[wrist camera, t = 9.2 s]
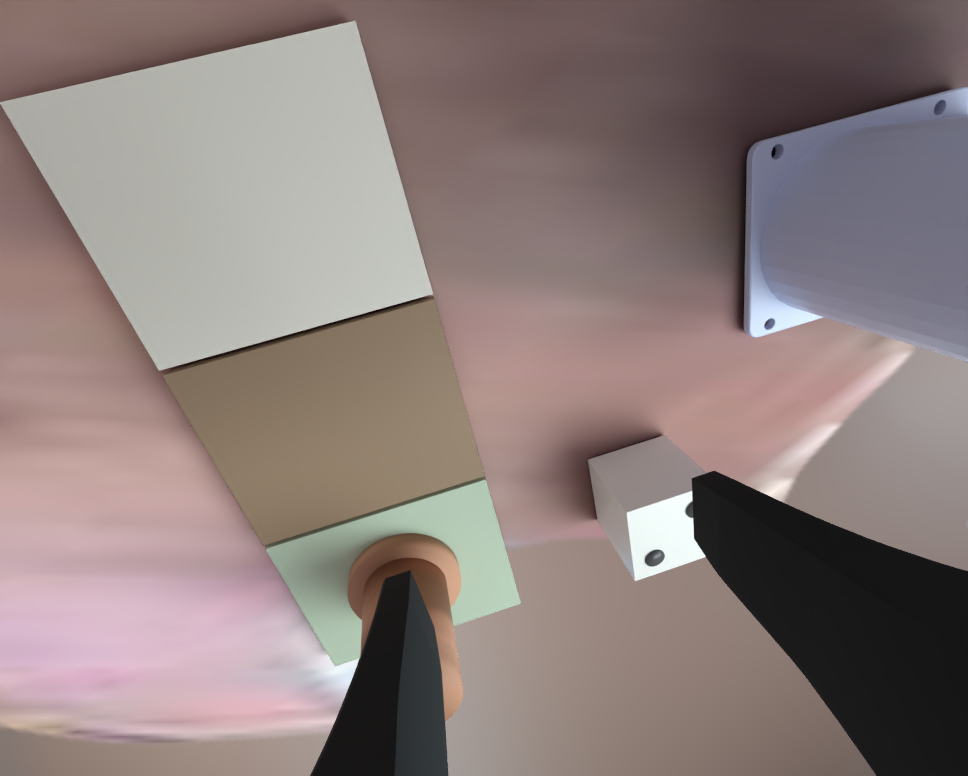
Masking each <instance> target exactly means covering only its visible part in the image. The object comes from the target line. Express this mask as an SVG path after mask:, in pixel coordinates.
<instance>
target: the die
mask: <svg viewBox="0 0 968 776" xmlns="http://www.w3.org/2000/svg"><path fill="white" fill-rule="evenodd" d="M588 464H589V471H590V477H591V483H592V489H593V495H594V501H595V507H596V514H597V520H598V523H599V524H600V526H601V528H602V529H603V531H604V532H605V534H606V536H607V537H608V539H609V540H610V542H611V544H612V545H613V547H614V548H615V550H616V551H617V553H618V554H619V556H620V558H621V559H622V561H623V563H624V564H625V566H626V567H627V569H628V570H629V572H630V574H631V575H632V577H633V578H634V580H635V581H637V580H640V579H643V578H646V577H648V576H651V575H654V574H657V573H660V572H663V571H666V570H668V569H672V568H674V567H677V566H680V565H683V564H686V563H689V562H692V561H695V560H698V559H701V558H704V557H706V556H705V555H704V553H703V552H702V550H701V549H700V547H699V546H698V544H697V543H696V541H695V540H694V526H693V500H692V478H694V477H697V476H700V475H703V474H706V472H705V471H704V470H703V469H702V468H700V467H699V466H698V465H697V464H696V463H695V462H694V461H693V460H692V459H691V458H689V457H688V456H687V455H686V454H685V453H684V452H683V451H682V450H681V449H679V448H678V447H677V446H676V445H675V444H674V443H673V442H672V441H671V440H670V439H668V438H667V437H666V436H665V435H663V436H660V437H657V438H654V439H651V440H648V441H645V442H641V443H638V444H635V445H632V446H629V447H626V448H623V449H620V450H616V451H613V452H610V453H607V454H604V455H601V456H598V457H595V458H591V459H588Z"/></svg>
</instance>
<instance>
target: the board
mask: <svg viewBox="0 0 968 776" xmlns="http://www.w3.org/2000/svg"><path fill="white" fill-rule="evenodd" d="M0 104H1V106H2V108H3V109H4V111H5V113H6V114H7V116H8V118H9V119H10V121H11V123H12V124H13V126H14V128H15V129H16V131H17V133H18V134H19V136H20V138H21V139H22V141H23V143H24V145H25V146H26V148H27V150H28V151H29V153H30V155H31V156H32V158H33V160H34V161H35V163H36V165H37V166H38V168H39V170H40V171H41V173H42V175H43V176H44V178H45V180H46V182H47V183H48V185H49V187H50V188H51V190H52V192H53V193H54V195H55V197H56V198H57V200H58V202H59V203H60V205H61V207H62V208H63V210H64V212H65V213H66V215H67V217H68V218H69V220H70V222H71V224H72V225H73V227H74V229H75V230H76V232H77V234H78V235H79V237H80V239H81V240H82V242H83V244H84V245H85V247H86V249H87V250H88V252H89V254H90V255H91V257H92V259H93V261H94V262H95V264H96V266H97V267H98V269H99V271H100V272H101V274H102V276H103V277H104V279H105V281H106V282H107V284H108V286H109V287H110V289H111V291H112V292H113V294H114V296H115V298H116V299H117V301H118V303H119V304H120V306H121V308H122V309H123V311H124V313H125V314H126V316H127V318H128V319H129V321H130V323H131V324H132V326H133V328H134V329H135V331H136V333H137V335H138V336H139V338H140V340H141V341H142V343H143V345H144V346H145V348H146V350H147V351H148V353H149V355H150V356H151V358H152V360H153V361H154V363H155V365H156V366H157V368H158V370H159V371H160V370H164V369H167V368H171V367H174V366H178V365H182V364H185V363H189V362H192V361H196V360H199V359H203V358H207V357H210V356H214V355H217V354H221V353H224V352H228V351H232V350H235V349H239V348H242V347H246V346H249V345H253V344H257V343H260V342H264V341H267V340H271V339H274V338H278V337H282V336H285V335H289V334H292V333H296V332H299V331H303V330H307V329H310V328H314V327H317V326H321V325H324V324H328V323H332V322H335V321H339V320H342V319H346V318H349V317H353V316H357V315H360V314H364V313H367V312H371V311H374V310H378V309H382V308H385V307H389V306H392V305H396V304H399V303H403V302H407V301H410V300H414V299H417V298H421V297H424V296H428V295H432V294H433V292H432V289H431V285H430V282H429V278H428V275H427V271H426V268H425V264H424V261H423V257H422V253H421V250H420V246H419V243H418V239H417V236H416V232H415V229H414V225H413V222H412V218H411V215H410V211H409V208H408V204H407V201H406V197H405V194H404V190H403V187H402V183H401V180H400V176H399V173H398V169H397V165H396V162H395V158H394V155H393V151H392V148H391V144H390V141H389V137H388V134H387V130H386V127H385V123H384V120H383V116H382V113H381V109H380V106H379V102H378V99H377V95H376V92H375V88H374V85H373V81H372V77H371V74H370V70H369V67H368V63H367V60H366V56H365V53H364V49H363V46H362V42H361V39H360V35H359V32H358V28H357V25H356V21H352V22H347V23H343V24H339V25H334V26H330V27H326V28H321V29H317V30H313V31H308V32H304V33H300V34H295V35H291V36H286V37H282V38H278V39H273V40H269V41H265V42H260V43H256V44H252V45H247V46H243V47H239V48H234V49H230V50H225V51H221V52H217V53H212V54H208V55H204V56H199V57H195V58H191V59H186V60H182V61H178V62H173V63H169V64H165V65H160V66H156V67H151V68H147V69H143V70H138V71H134V72H130V73H125V74H121V75H117V76H112V77H108V78H104V79H99V80H95V81H91V82H86V83H82V84H77V85H73V86H69V87H64V88H60V89H56V90H51V91H47V92H43V93H38V94H34V95H30V96H25V97H21V98H17V99H12V100H8V101H3V102H0ZM162 377H163V378H164V380H165V382H166V383H167V385H168V387H169V388H170V390H171V392H172V393H173V395H174V397H175V398H176V400H177V402H178V403H179V405H180V407H181V408H182V410H183V412H184V414H185V415H186V417H187V419H188V420H189V422H190V424H191V425H192V427H193V429H194V430H195V432H196V434H197V435H198V437H199V439H200V440H201V442H202V444H203V445H204V447H205V449H206V451H207V452H208V454H209V456H210V457H211V459H212V461H213V462H214V464H215V466H216V467H217V469H218V471H219V472H220V474H221V476H222V477H223V479H224V481H225V482H226V484H227V486H228V488H229V489H230V491H231V493H232V494H233V496H234V498H235V499H236V501H237V503H238V504H239V506H240V508H241V509H242V511H243V513H244V514H245V516H246V518H247V519H248V521H249V523H250V524H251V526H252V528H253V530H254V531H255V533H256V535H257V536H258V538H259V540H260V541H261V543H262V545H263V546H264V545H266V548H265V550H266V551H267V553H268V555H269V556H270V558H271V560H272V561H273V563H274V565H275V567H276V568H277V570H278V572H279V573H280V575H281V577H282V578H283V580H284V582H285V583H286V585H287V587H288V588H289V590H290V592H291V593H292V595H293V597H294V598H295V600H296V602H297V604H298V605H299V607H300V609H301V610H302V612H303V614H304V615H305V617H306V619H307V620H308V622H309V624H310V625H311V627H312V629H313V630H314V632H315V634H316V635H317V637H318V639H319V641H320V642H321V644H322V646H323V647H324V649H325V651H326V652H327V654H328V656H329V657H330V659H331V661H332V662H333V664H334V666H338V665H341V664H344V663H347V662H349V661H352V660H355V659H358V658H360V653H361V632H362V620H361V619H360V618H359V617H358V616H357V615H356V614H355V613H354V612H353V610H352V609H351V607H350V604H349V601H348V581H349V573H350V570H351V567H352V565H353V563H354V561H355V560H356V558H357V557H358V556H359V555H360V554H361V552H362V551H364V550H365V549H366V548H367V547H368V546H370V545H372V544H373V543H375V542H377V541H379V540H381V539H383V538H386V537H389V536H393V535H397V534H405V533H418V534H424V535H428V536H432V537H434V538H437V539H439V540H440V541H442V542H444V543H445V544H446V545H448V546H449V547H450V549H451V550H452V551H453V552H454V554H455V556H456V558H457V561H458V564H459V570H460V575H461V589H460V593H459V595H458V597H457V599H456V601H455V603H454V604H453V605H452V607H451V614H452V620H453V626H455V625H458V624H462V623H465V622H467V621H470V620H473V619H476V618H479V617H482V616H485V615H488V614H491V613H494V612H497V611H500V610H503V609H506V608H509V607H512V606H515V605H518V604H520V603H521V602H520V599H519V595H518V592H517V588H516V585H515V581H514V578H513V574H512V570H511V567H510V563H509V560H508V556H507V553H506V549H505V546H504V542H503V539H502V535H501V532H500V528H499V525H498V521H497V518H496V514H495V510H494V507H493V503H492V500H491V496H490V493H489V489H488V486H487V482H486V479H485V475H484V472H483V468H482V465H481V461H480V458H479V454H478V451H477V447H476V444H475V440H474V437H473V433H472V429H471V426H470V422H469V419H468V415H467V412H466V408H465V405H464V401H463V398H462V394H461V391H460V387H459V384H458V380H457V377H456V373H455V370H454V366H453V363H452V359H451V356H450V352H449V349H448V345H447V341H446V338H445V334H444V331H443V327H442V324H441V320H440V317H439V313H438V310H437V306H436V303H435V299H434V297H433V296H432V297H429V298H425V299H422V300H418V301H414V302H411V303H407V304H404V305H400V306H397V307H393V308H389V309H386V310H382V311H379V312H375V313H372V314H368V315H365V316H361V317H357V318H354V319H350V320H347V321H343V322H340V323H336V324H332V325H329V326H325V327H322V328H318V329H315V330H311V331H307V332H304V333H300V334H297V335H293V336H290V337H286V338H283V339H279V340H275V341H272V342H268V343H265V344H261V345H258V346H254V347H250V348H247V349H243V350H240V351H236V352H233V353H229V354H225V355H222V356H218V357H215V358H211V359H208V360H204V361H201V362H197V363H193V364H190V365H186V366H183V367H179V368H176V369H172V370H168V371H167V372H166V373H165V374H164V375H162Z"/></svg>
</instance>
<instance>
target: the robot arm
mask: <svg viewBox="0 0 968 776" xmlns="http://www.w3.org/2000/svg"><path fill="white" fill-rule="evenodd" d="M934 108H935V110H934ZM774 146H775V148H776V153H775V155H774V157H773V158H772V156H771V152H772V149H773V147H774ZM823 317H825V318H828V319H831V320H834V321H837V322H841V323H844V324H847V325H850V326H853V327H857V328H860V329H863V330H866V331H869V332H873V333H876V334H879V335H882V336H885V337H889V338H892V339H895V340H898V341H901V342H905V343H908V344H911V345H914V346H917V347H921V348H924V349H927V350H930V351H933V352H937V353H940V354H943V355H946V356H949V357H953V358H956V359H959V360H962V361H965V362H968V87H961V88H955V89H951V90H948V91H944V92H940V93H937V94H933V95H929V96H925V97H922V98H918V99H914V100H910V101H907V102H903V103H899V104H896V105H892V106H888V107H884V108H881V109H877V110H873V111H870V112H866V113H862V114H858V115H855V116H851V117H847V118H843V119H840V120H836V121H832V122H829V123H825V124H821V125H817V126H814V127H810V128H806V129H803V130H799V131H795V132H791V133H788V134H784V135H780V136H777V137H773V138H769V139H765V140H762V141H759V142H757V143H755V144H754V145H753V146H752V147H751V148H750V150H749V152H748V156H747V183H746V237H745V290H744V332H745V333H746V334H747V335H749V336H752V337H754V338H755V337H761V336H764V335H767V334H770V333H774V332H777V331H780V330H784V329H787V328H790V327H793V326H797V325H800V324H803V323H807V322H810V321H813V320H816V319H820V318H823ZM768 319H769V321H768V323H767V325H766V326H764V325H765V322H766V321H767V320H768ZM692 500H693V526H694V540H695V541H696V543H697V544H698V546H699V547H700V549H701V550H702V552H703V553H704V555H705V556H706V558H707V559H708V560H709V562H710V563H711V565H712V566H713V568H714V569H715V570H716V572H717V573H718V575H719V576H720V577H721V578H722V580H723V581H724V582H725V583H726V584H727V586H728V587H729V588H730V589H731V590H732V591H733V593H734V594H735V595H736V596H737V597H738V598H739V600H740V601H741V602H742V603H743V604H744V605H745V606H746V608H747V609H748V610H749V611H750V612H751V613H752V614H753V616H754V617H755V618H756V619H757V620H758V621H759V622H760V624H762V626H763V627H764V628H765V629H766V630H767V632H768V633H769V634H770V635H771V636H772V637H773V638H774V640H775V641H776V642H777V643H778V644H779V645H780V646H781V648H782V649H783V650H784V651H785V652H786V653H787V655H788V656H789V657H790V658H791V659H792V660H793V662H794V663H795V664H796V665H797V667H798V668H799V669H800V670H801V672H802V673H803V674H804V675H805V676H806V678H807V679H808V680H809V682H810V683H811V685H812V686H813V687H814V689H815V690H816V691H817V693H818V694H819V695H820V697H821V698H822V699H823V701H824V702H825V704H826V705H827V706H828V708H829V709H830V710H831V712H832V713H833V715H834V716H835V717H836V719H837V720H838V721H839V723H840V724H841V726H842V727H843V728H844V730H845V731H846V733H847V734H848V736H849V737H850V738H851V740H852V741H853V743H854V744H855V745H856V747H857V748H858V750H859V751H860V752H861V754H862V755H863V757H864V758H865V760H866V761H867V763H868V764H869V765H870V767H871V768H872V770H873V771H874V773H875V774H876V776H968V571H965V570H961V569H957V568H954V567H951V566H948V565H944V564H941V563H938V562H935V561H932V560H928V559H926V558H923V557H920V556H917V555H914V554H911V553H908V552H905V551H902V550H899V549H896V548H893V547H890V546H887V545H885V544H882V543H879V542H876V541H874V540H871V539H868V538H865V537H863V536H861V535H858V534H856V533H853V532H850V531H848V530H845V529H843V528H840V527H838V526H835V525H833V524H830V523H828V522H826V521H824V520H821V519H819V518H816V517H814V516H812V515H810V514H807V513H805V512H803V511H800V510H798V509H796V508H794V507H792V506H789V505H787V504H785V503H783V502H781V501H778V500H776V499H774V498H772V497H770V496H768V495H766V494H763V493H761V492H759V491H757V490H755V489H753V488H751V487H748V486H746V485H744V484H742V483H740V482H738V481H736V480H734V479H731V478H729V477H727V476H725V475H723V474H720V473H718V472H716V471H712V472H709V473H706V474H703V475H700V476H697V477H694V478H692ZM310 776H448V763H447V747H446V730H445V713H444V698H443V682H442V670H441V664H440V657H439V651H438V645H437V639H436V633H435V628H434V625H433V622H432V620H431V617H430V615H429V613H428V610H427V608H426V605H425V603H424V601H423V598H422V596H421V593H420V591H419V589H418V586H417V584H416V581H415V579H414V577H413V574H412V572H411V570H409V571H406V572H403V573H400V574H397V575H394V576H391V577H388V578H385V580H384V582H383V583H382V587H381V591H380V595H379V599H378V603H377V606H376V610H375V613H374V616H373V620H372V623H371V626H370V629H369V633H368V636H367V639H366V642H365V644H364V647H363V650H362V653H361V656H360V659H359V662H358V665H357V668H356V670H355V673H354V676H353V678H352V681H351V684H350V686H349V689H348V691H347V694H346V696H345V699H344V701H343V704H342V706H341V709H340V711H339V714H338V716H337V718H336V721H335V723H334V725H333V728H332V730H331V732H330V735H329V737H328V739H327V741H326V743H325V746H324V748H323V750H322V752H321V754H320V756H319V758H318V761H317V763H316V765H315V767H314V769H313V771H312V773H311V775H310Z"/></svg>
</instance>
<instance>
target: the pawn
mask: <svg viewBox="0 0 968 776" xmlns="http://www.w3.org/2000/svg"><path fill="white" fill-rule="evenodd" d="M409 570H411V572H412V574H413V577H414V579H415V581H416V584H417V586H418V589H419V591H420V593H421V596H422V598H423V601H424V603H425V605H426V608H427V610H428V613H429V615H430V617H431V620H432V622H433V625H434V628H435V633H436V639H437V645H438V651H439V657H440V664H441V670H442V682H443V698H444V713H445V721H446V720H447V719H449V718H450V717H451V716H452V715H453V714H454V712H456V710H457V709H458V707H459V706H460V704H461V702H462V699H463V684H462V679H461V672H460V665H459V659H458V652H457V646H456V640H455V633H454V627H453V620H452V614H451V607H452V605H453V604H454V603H455V601H456V599H457V597H458V595H459V593H460V589H461V575H460V570H459V564H458V561H457V558H456V556H455V554H454V552H453V551H452V550H451V549H450V547H449V546H448V545H446V544H445V543H444V542H442V541H440V540H439V539H437V538H434V537H432V536H428V535H424V534H418V533H405V534H397V535H393V536H389V537H386V538H383V539H381V540H379V541H377V542H375V543H373V544H372V545H370V546H368V547H367V548H366V549H365V550H364V551H362V552H361V554H360V555H359V556H358V557H357V558H356V560H355V561H354V563H353V565H352V567H351V570H350V573H349V581H348V601H349V604H350V607H351V609H352V610H353V612H354V613H355V614H356V615H357V616H358V617H359V618H360V619H361V620H362V632H361V653H362V650H363V647H364V644H365V642H366V639H367V636H368V633H369V629H370V626H371V623H372V620H373V616H374V613H375V610H376V606H377V603H378V599H379V595H380V591H381V587H382V583H383V582H384V580H385V578H388V577H391V576H394V575H397V574H400V573H403V572H406V571H409ZM361 653H360V656H361Z"/></svg>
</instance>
